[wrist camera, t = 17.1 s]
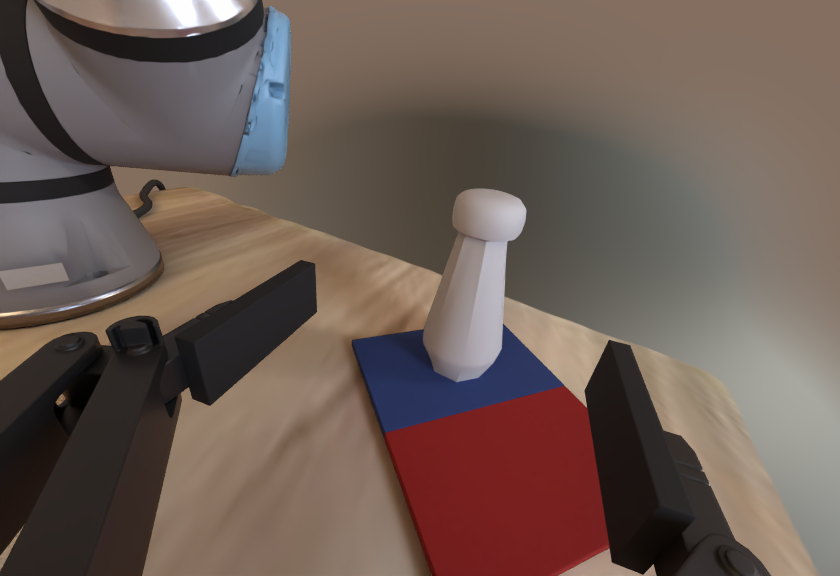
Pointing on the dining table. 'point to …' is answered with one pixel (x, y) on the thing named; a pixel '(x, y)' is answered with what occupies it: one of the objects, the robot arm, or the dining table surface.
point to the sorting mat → (488, 459)
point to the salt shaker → (473, 285)
